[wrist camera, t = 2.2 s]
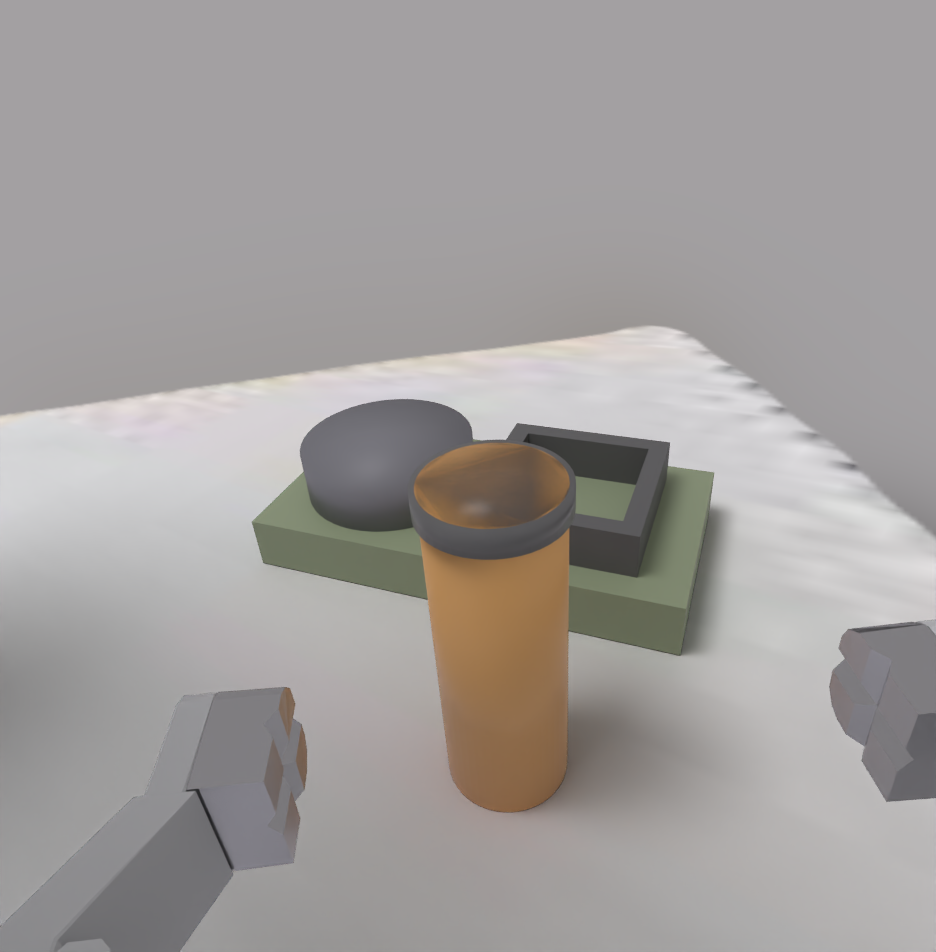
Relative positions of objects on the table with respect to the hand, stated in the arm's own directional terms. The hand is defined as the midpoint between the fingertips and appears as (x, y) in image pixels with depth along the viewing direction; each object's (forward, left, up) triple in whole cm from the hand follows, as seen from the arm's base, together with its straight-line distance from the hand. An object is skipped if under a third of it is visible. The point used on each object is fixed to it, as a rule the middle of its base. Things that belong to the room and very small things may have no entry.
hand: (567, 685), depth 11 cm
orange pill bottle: (-5, +11, -18) cm, 22 cm away
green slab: (-11, +25, -18) cm, 33 cm away
